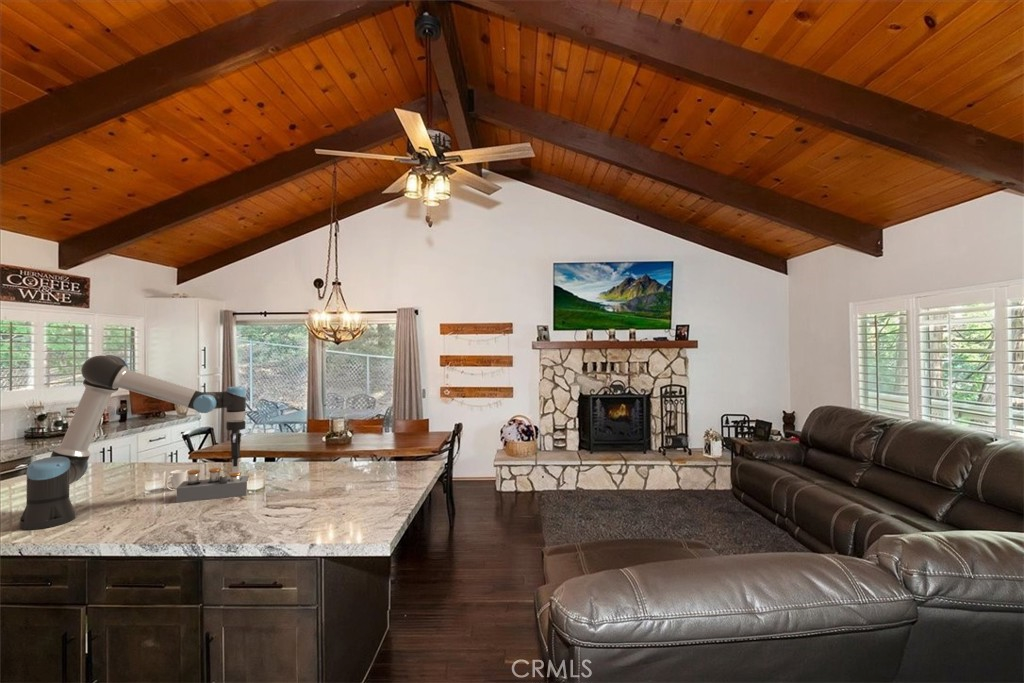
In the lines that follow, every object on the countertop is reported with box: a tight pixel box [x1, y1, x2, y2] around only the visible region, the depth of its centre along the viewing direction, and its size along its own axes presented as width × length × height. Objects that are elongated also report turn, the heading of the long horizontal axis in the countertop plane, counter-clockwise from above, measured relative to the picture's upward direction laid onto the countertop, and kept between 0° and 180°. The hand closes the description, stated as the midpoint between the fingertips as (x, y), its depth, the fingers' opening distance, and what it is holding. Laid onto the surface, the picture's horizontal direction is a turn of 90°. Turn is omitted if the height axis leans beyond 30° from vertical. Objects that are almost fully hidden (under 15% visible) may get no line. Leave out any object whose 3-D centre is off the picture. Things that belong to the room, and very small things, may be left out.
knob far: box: [229, 471, 242, 482], centre depth 218 cm, size 5×5×7 cm
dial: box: [220, 475, 228, 484], centre depth 212 cm, size 3×3×3 cm
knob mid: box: [208, 467, 222, 484], centre depth 215 cm, size 5×5×7 cm
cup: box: [164, 469, 189, 491], centre depth 223 cm, size 7×10×8 cm
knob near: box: [187, 469, 201, 485], centre depth 212 cm, size 5×5×7 cm
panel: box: [176, 475, 250, 503], centre depth 215 cm, size 26×12×6 cm, turn 113°
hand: (235, 472), depth 218 cm, fingers closed
